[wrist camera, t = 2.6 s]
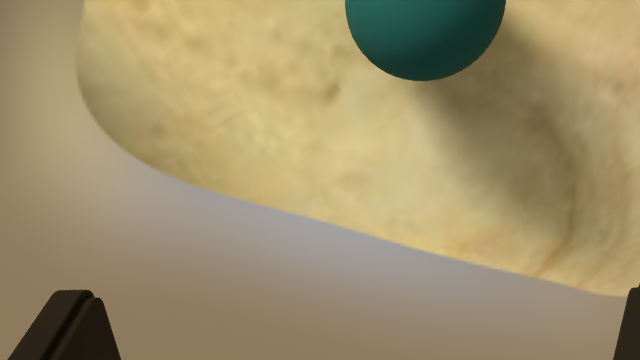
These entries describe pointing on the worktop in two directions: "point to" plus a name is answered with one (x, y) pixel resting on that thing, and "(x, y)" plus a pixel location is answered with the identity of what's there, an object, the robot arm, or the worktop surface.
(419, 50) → the ball
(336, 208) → the worktop surface
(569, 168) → the worktop surface
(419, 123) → the worktop surface
